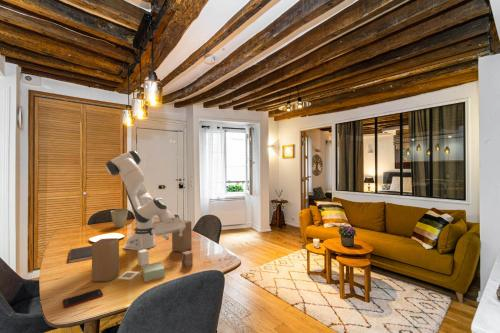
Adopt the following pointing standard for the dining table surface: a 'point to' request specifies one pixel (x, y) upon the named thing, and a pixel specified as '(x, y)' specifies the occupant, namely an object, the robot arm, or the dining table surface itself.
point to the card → (128, 275)
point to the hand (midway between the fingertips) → (174, 237)
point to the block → (182, 239)
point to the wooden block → (105, 259)
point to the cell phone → (82, 298)
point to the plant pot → (119, 217)
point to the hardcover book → (80, 254)
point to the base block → (153, 271)
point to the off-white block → (143, 257)
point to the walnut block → (187, 259)
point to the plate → (106, 236)
